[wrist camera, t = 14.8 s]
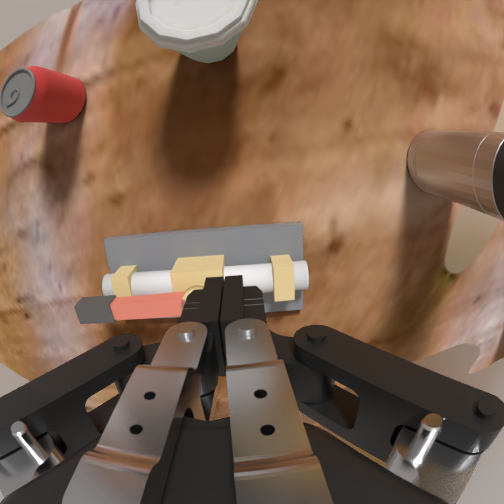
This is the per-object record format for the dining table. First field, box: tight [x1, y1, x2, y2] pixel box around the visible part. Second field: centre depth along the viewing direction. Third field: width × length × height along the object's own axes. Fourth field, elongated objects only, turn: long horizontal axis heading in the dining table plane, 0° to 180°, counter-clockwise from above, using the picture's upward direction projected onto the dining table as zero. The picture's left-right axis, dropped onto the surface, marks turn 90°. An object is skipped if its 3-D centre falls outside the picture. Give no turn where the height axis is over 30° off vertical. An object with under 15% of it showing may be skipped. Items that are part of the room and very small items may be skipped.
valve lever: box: [74, 285, 204, 324], centre depth 34 cm, size 17×3×2 cm, turn 96°
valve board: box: [102, 222, 309, 318], centre depth 38 cm, size 26×12×7 cm, turn 94°
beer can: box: [0, 66, 86, 123], centre depth 27 cm, size 7×7×12 cm
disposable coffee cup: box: [136, 0, 258, 63], centre depth 25 cm, size 11×11×15 cm
